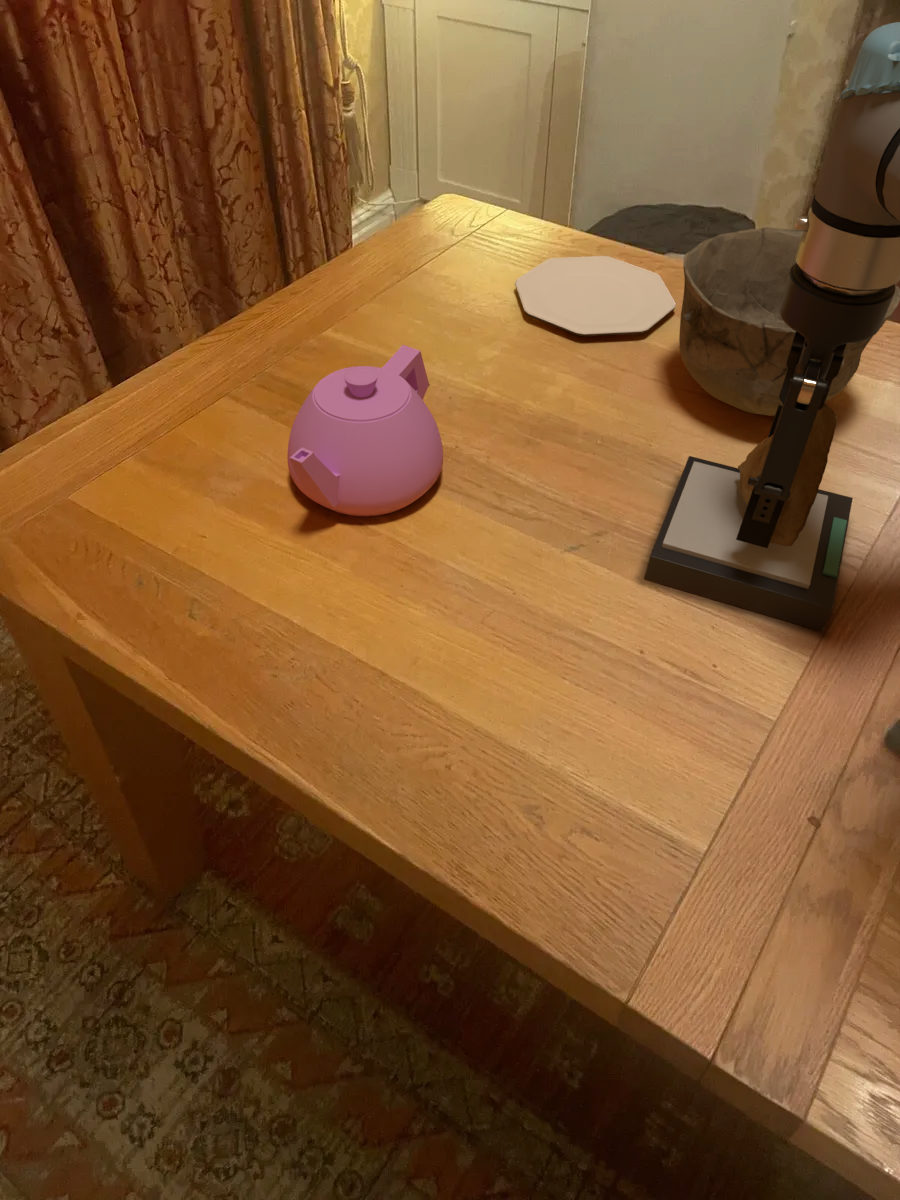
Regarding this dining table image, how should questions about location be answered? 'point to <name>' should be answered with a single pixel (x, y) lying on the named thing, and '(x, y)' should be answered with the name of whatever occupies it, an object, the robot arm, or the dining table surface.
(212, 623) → the dining table surface
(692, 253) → the bowl
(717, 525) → the scale
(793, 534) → the rock
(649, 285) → the plate
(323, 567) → the dining table surface
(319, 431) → the teapot
